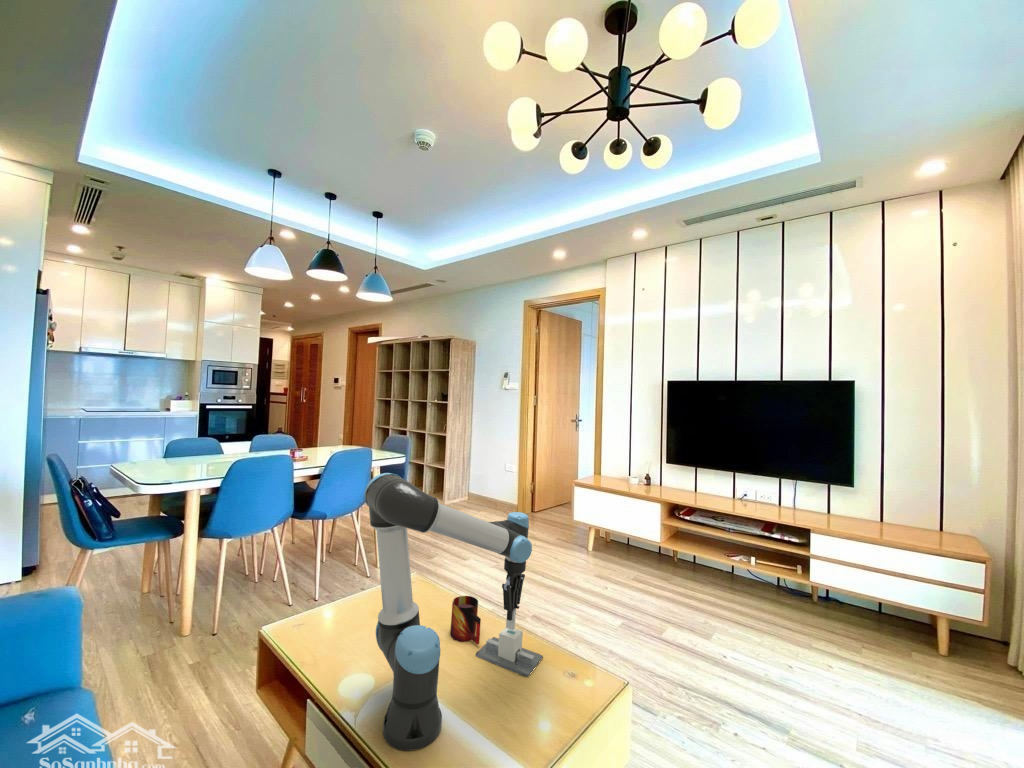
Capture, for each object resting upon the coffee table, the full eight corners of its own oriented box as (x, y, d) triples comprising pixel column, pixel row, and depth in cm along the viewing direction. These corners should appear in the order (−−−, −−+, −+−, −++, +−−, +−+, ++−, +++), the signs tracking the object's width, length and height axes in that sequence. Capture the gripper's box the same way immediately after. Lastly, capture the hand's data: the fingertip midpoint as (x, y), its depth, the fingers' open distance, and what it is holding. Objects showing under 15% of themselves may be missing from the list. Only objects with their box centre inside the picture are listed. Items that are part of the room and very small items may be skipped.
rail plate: (527, 677, 131) (528, 668, 131) (475, 656, 141) (476, 647, 141) (542, 658, 142) (543, 649, 142) (493, 639, 151) (493, 631, 151)
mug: (477, 648, 145) (480, 613, 146) (445, 637, 151) (447, 603, 152) (490, 635, 154) (492, 602, 155) (459, 624, 160) (461, 593, 160)
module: (513, 662, 137) (514, 639, 138) (497, 655, 140) (499, 633, 140) (521, 653, 142) (522, 630, 143) (506, 647, 145) (507, 625, 146)
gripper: (516, 567, 135) (510, 640, 134) (533, 555, 147) (528, 623, 145) (496, 561, 139) (491, 633, 138) (514, 551, 150) (509, 617, 149)
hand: (510, 628), depth 142 cm, fingers closed
